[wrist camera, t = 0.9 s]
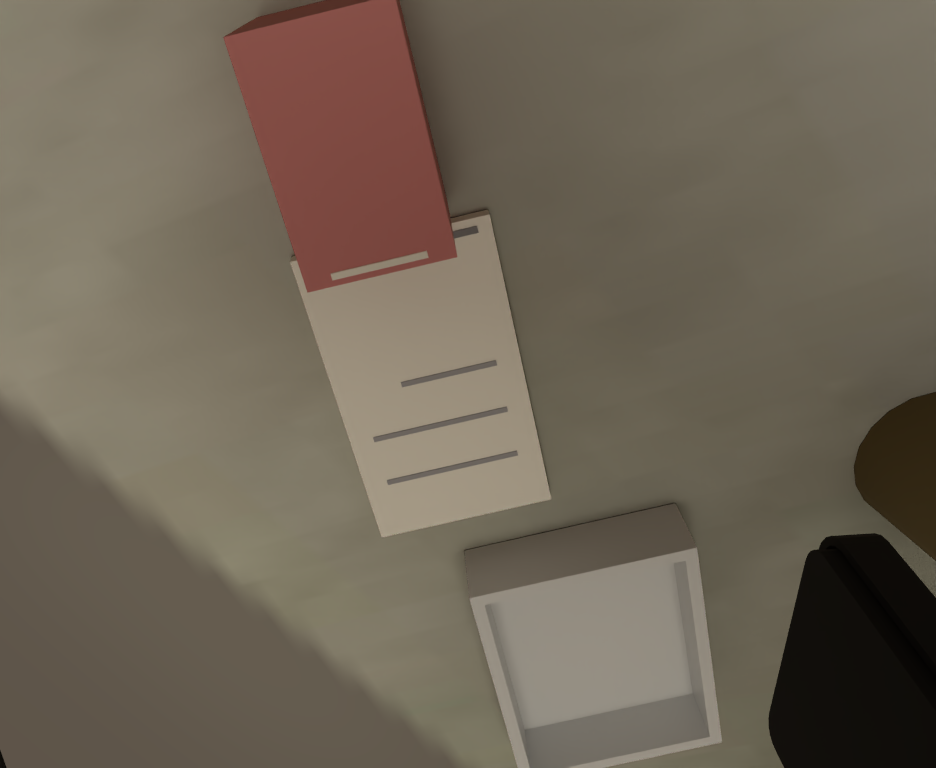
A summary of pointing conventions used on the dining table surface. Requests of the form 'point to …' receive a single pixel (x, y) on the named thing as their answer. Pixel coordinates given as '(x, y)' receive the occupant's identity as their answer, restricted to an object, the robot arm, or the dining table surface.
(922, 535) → the cork
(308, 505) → the dining table surface
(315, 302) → the ticket
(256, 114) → the red block with stripe
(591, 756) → the tray
